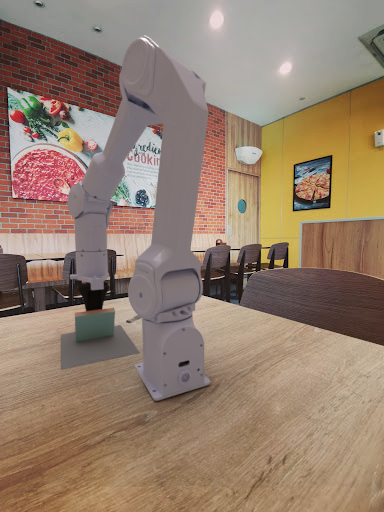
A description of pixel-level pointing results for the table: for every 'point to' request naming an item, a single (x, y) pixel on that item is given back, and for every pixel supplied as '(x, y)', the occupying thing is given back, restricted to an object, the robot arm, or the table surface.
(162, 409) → the table surface
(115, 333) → the mat
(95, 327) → the tile
